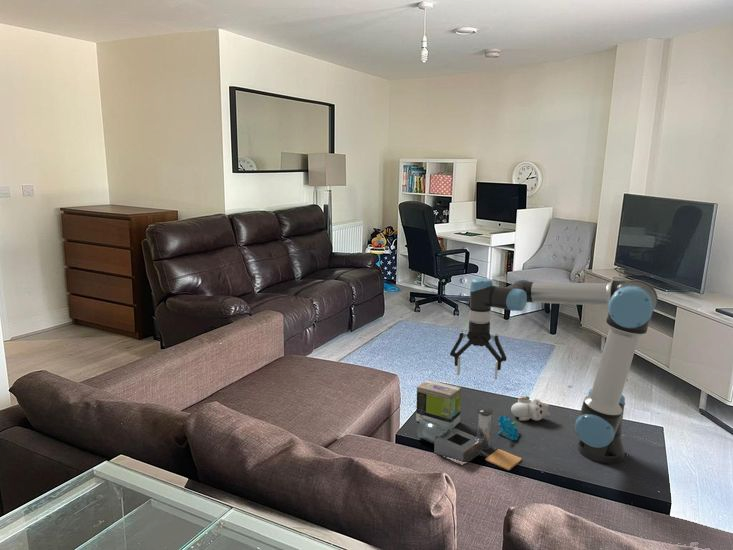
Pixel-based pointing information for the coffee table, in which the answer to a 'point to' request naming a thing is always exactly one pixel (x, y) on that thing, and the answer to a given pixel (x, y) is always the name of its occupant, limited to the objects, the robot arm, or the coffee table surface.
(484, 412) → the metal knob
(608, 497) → the coffee table surface
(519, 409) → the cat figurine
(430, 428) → the grey piece
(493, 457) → the pad
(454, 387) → the tea box
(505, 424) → the gear
